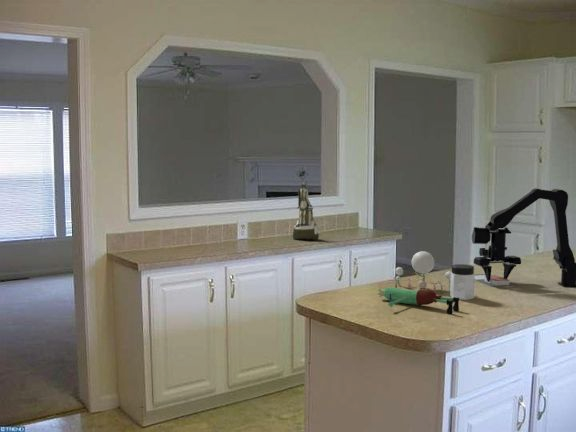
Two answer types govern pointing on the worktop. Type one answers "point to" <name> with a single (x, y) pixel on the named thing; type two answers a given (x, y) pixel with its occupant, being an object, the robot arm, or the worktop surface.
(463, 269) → the jar
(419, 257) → the figurines
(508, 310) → the worktop surface
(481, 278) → the mat
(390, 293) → the toy
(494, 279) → the card deck
